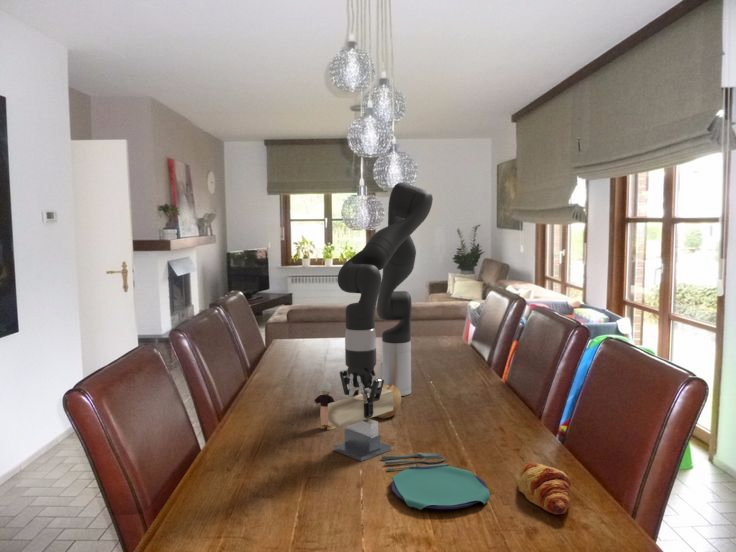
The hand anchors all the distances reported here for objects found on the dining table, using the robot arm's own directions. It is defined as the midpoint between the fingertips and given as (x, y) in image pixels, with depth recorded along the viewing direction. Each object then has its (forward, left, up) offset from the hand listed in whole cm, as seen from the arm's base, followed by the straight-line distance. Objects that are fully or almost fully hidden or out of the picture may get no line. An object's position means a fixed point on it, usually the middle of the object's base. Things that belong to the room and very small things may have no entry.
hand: (361, 414), depth 147 cm
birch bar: (0, 0, -1) cm, 1 cm away
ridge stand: (0, 0, -9) cm, 9 cm away
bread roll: (-17, +25, -9) cm, 31 cm away
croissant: (+44, +10, -9) cm, 46 cm away
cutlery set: (+24, -2, -10) cm, 26 cm away
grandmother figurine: (-19, +4, -9) cm, 21 cm away
